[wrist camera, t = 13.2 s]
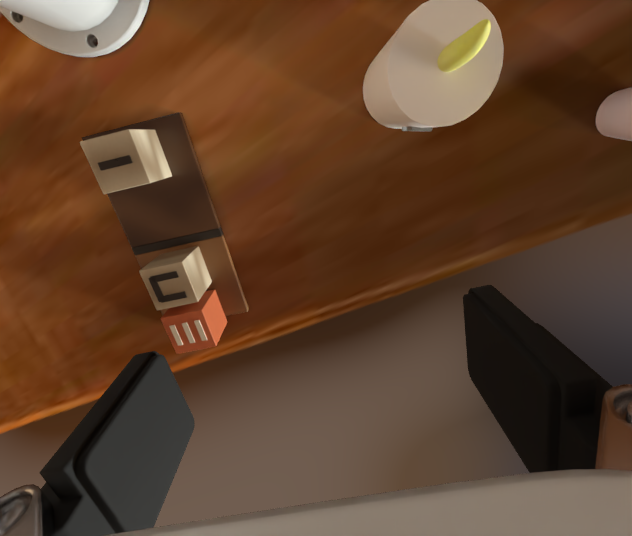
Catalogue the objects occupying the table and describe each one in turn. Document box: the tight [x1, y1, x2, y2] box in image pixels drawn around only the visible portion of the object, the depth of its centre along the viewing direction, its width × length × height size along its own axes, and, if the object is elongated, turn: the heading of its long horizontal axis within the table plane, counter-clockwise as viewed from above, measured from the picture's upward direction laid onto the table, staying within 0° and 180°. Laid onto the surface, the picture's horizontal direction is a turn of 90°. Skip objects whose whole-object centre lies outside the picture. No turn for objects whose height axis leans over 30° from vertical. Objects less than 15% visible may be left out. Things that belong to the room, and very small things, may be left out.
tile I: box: [80, 129, 172, 194], centre depth 28 cm, size 4×4×4 cm
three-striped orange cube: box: [161, 289, 227, 354], centre depth 33 cm, size 4×4×4 cm
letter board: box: [82, 113, 249, 316], centre depth 33 cm, size 20×9×1 cm, turn 13°
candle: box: [363, 0, 504, 131], centre depth 21 cm, size 6×6×15 cm
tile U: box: [139, 246, 212, 310], centre depth 32 cm, size 4×4×4 cm
